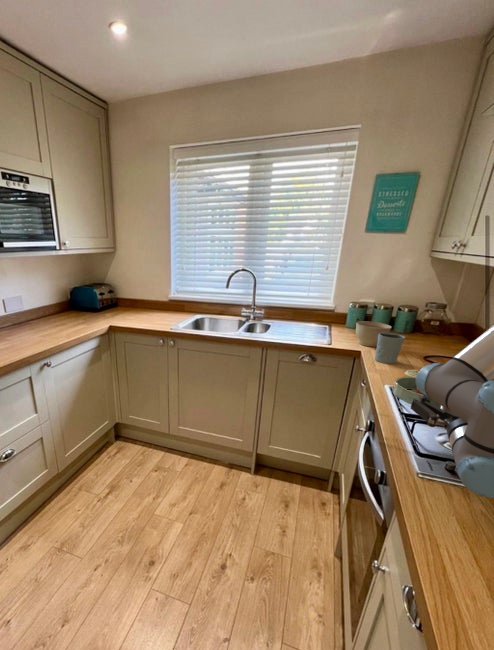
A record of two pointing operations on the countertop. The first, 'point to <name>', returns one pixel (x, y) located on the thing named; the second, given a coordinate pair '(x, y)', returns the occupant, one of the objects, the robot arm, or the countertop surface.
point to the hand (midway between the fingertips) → (456, 402)
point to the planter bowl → (370, 332)
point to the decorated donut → (411, 373)
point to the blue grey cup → (388, 347)
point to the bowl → (403, 393)
